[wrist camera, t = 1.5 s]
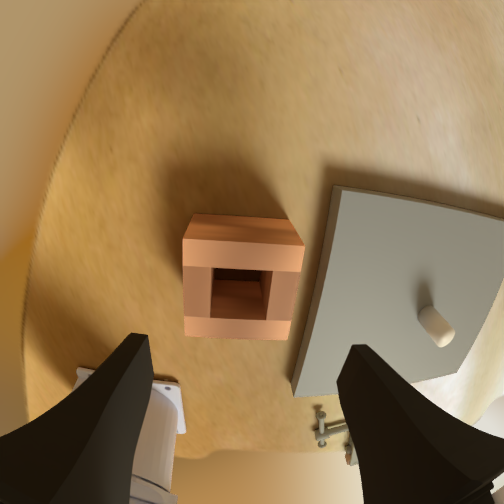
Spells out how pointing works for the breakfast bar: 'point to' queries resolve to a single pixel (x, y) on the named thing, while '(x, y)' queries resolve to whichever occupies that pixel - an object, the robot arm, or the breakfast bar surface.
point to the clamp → (325, 433)
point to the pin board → (398, 287)
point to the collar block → (240, 292)
